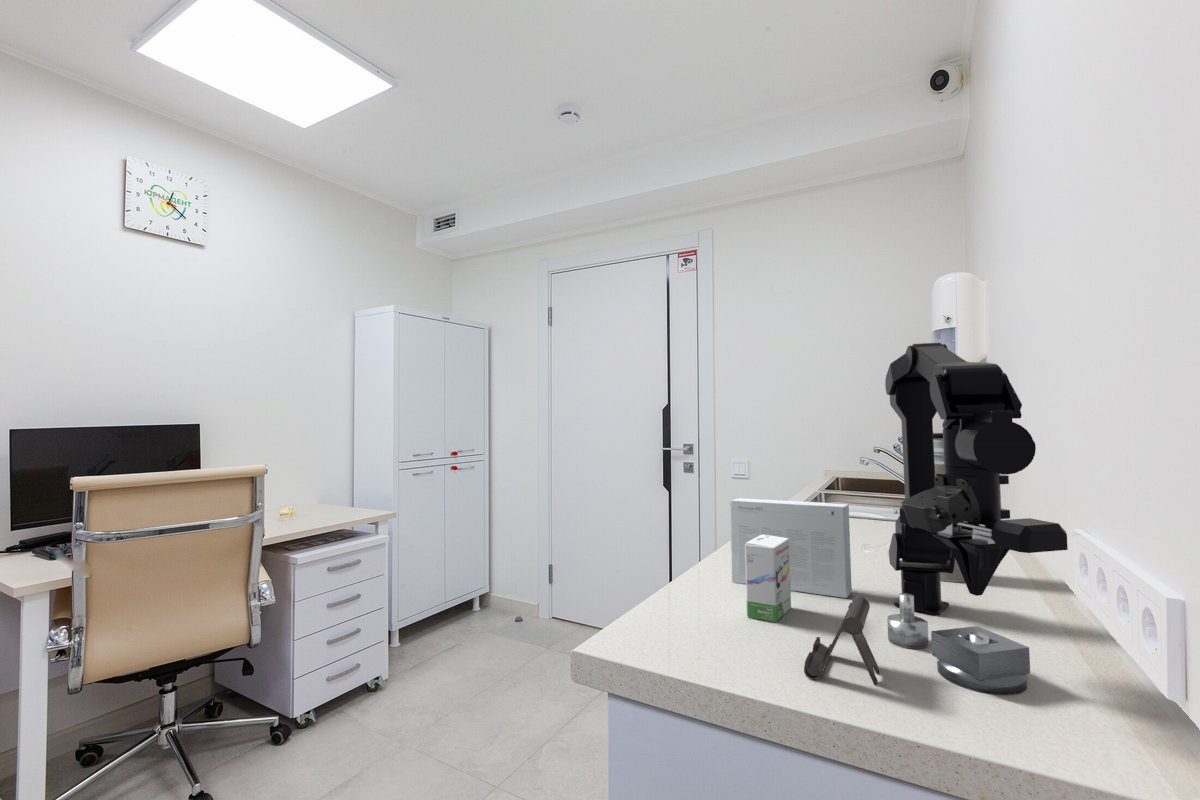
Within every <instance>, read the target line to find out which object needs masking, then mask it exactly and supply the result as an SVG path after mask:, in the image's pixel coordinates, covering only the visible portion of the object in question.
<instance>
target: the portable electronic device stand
mask: <svg viewBox="0 0 1200 800" xmlns="http://www.w3.org/2000/svg"><path fill="white" fill-rule="evenodd" d="M870 606H871V605H870V602H869V600H867V598H865V597H864V596H855V597H854V598H853V599H852V600H851V602H849V604H848V607H847V608H848V609H847V611H846V613H845V616H843V619H842V621H841V624H840V626H839V627H838V630H837V632H836V633H835V636H834V638H833V641H832V642H831V643H829V645H828V646H826V645H825V644H823V643H821V637H820V636H816V638H815V641H814V642H813V645H812V651H809V652H808V654H807V656H806V658H805V661H804V666H803V667H804V668H803V672H804V675H805V676H806V677H807V678H808V679H809V680H812V681H817V680H819V679H820V678H821V676H822V675H823V673H824V669H825V667H826V665H827V663H828V661H829V659H830V656H831V655H832V653H833V650H834V648H835V646H836V645H837V642H838V641H839V638H840V636H841V634H843V633H846V634H849V635H850V636H851V637H852V639H853V641H854V644H855V646H856V648H857V650H858V653H859V655H860V657H861V659H862V662H863V664H864V666H865V668H866V670H867V672H868V675H869V677H870V678H871V681H872V683H873V685H874V686H877V685H878V682H879V680H878V678H877V675H880V673H881V671H880V670H881V669H880V666H879V665H878V662H877V661H876V659H875V655H874V654H873V652H872V650H871V648H870V646H869V644H868V641H867V639H866V637H865V635H864V634H865V633H864V632H863V630H864V626H865V624H866V621H867V618H868V614H869V611H870V608H871V607H870ZM876 674H877V675H876Z"/></svg>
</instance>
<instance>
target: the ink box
mask: <svg viewBox="0 0 1200 800" xmlns="http://www.w3.org/2000/svg"><path fill="white" fill-rule="evenodd" d="M746 543H747V544H745V562H746V584H745V588H746V616H747V617H748V618H749V619H755V620H762V621H765V622H766V621H767V622H772V623H777V622H778V621H779V620H780V619H781V618H782V617H783V616H784V615H785V614H786V613H787V612H788V611H789V610H790V609H791V608H792V594H791V593H792V590H791V585H790V544H789V538H784V537H777V536H771V535H760V536H758V537H756V538H754V539H752V540H750V541H748V542H746Z"/></svg>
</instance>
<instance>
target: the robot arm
mask: <svg viewBox="0 0 1200 800" xmlns="http://www.w3.org/2000/svg"><path fill="white" fill-rule="evenodd" d="M884 383H885V385H884V386H885V393H886V395H887V396H889V405H890V406H891V408H892V409H893V410H894V412H895V413H896V415H897V416H898V418H899V419H900V422H901V438H902V439H901V440H902V441H901V442H902V462H903V463H902V464H903V481H904V482H903V485H904V500H902V502H901V505H902V506H900V508H899V516H898V518H896V521H895V522H894V523H895V532H893V533H892V536H891V540H890V545H889V548H888V558H889V564H890V566H891V567H892V569H894V571H896V572H898V571H899V572H900V581H901V583H900V584H901V585H900V587H901V593H908V594H912V595H914V611H916V612H921V613H926V614H930V615H936V616H937V615H938V614H940V613H942V612H943V611H944V610H946V609H947V608H949V607H950V603H949V602H947V601H943V600H942V585H941V584H942V583H941V582H942V581H941V579H940V572H943V573H952V574H953V571H954V563H955V559H956V561H957V564H958V565H959V568H960V571H961V573H962V576H963V578H964V581H965V582H964V583H965V585H966V588H967V590H968V593H969V594H970V595H973V596H978V597H979V596H982V595H983V594H984V593H985V591H986V588H987V587H988V586H989V584H990V582H991V579H992V578H993V576H994V574H995V572H996V571H997V569H998V567H999V566H1000V564H1001V562H1002V561H1003V560H1004V558H1005V557H1006V555H1007V554H1008V553H1009V551H1013V552H1017V553H1023V554H1033V553H1044V552H1045V553H1047V552H1058V551H1060V552H1061V551H1068V533H1067V531H1066V530H1065V529H1064V527H1062V526H1061V524H1060V523H1058V522H1054V521H1053V522H1052V521H1048V520H1047V521H1046V520H1042V519H1036V518H1031V517H1030V518H1011V509H1006V508H1005V509H1004V508H1002V501H1001V500H1002V498H1001V497H1002V496H1001V492H1002V491H1001V485H1009V484H1010V481H1009V479H1010V478H1009V477H1010V476H1009V475H1013V474H1018V473H1019V472H1021V471H1023V470H1025V469H1027V468H1028V467H1029V466H1030V464H1031V463H1032V462H1033V461H1034V457H1035V455H1036V451H1037V449H1036V448H1037V447H1036V442H1035V441H1034V439H1033V437H1032V435H1031V433H1030V432H1029V431H1028V430H1027V428H1025V427H1023V425H1020V424H1018V423H1016V422H1014V421H1013V419H1021V418H1022V411H1021V409H1022V407H1023V403H1022V402H1021V400H1020V398H1019V396H1018V395H1017V394H1018V393H1017V392H1016V390H1015V389H1014V387H1013V384H1012V383H1011V382H1010V380H1009V377H1008V374H1007V373H1005V372H1004V371H1003V369H1002V367H1001V366H1000V365H999V364H997V363H991V362H975V361H973V362H971V361H967V360H965V359H963V358H962V357H960V356H959V355H957V354H956V353H954V352H953V351H952V350H950V349H948V345H946V343H942V342H924V343H923V342H921V343H913V344H911V345H908V346H907V348H906V351H905V352H904V354H903V355H901V356H900V357H898V358H897V359H895V360H894V361H892V362H891V363H890V364H889V366H888V369H887V372H886V375H885V382H884ZM936 414H938V417H939V418H940V420H943V422H942V433H943V450H944V473H940V474H936V477H935V462H934V442H933V433H934V425H933V423H934V422H933V419H934V418H935V416H936ZM964 521H966V522H964ZM893 606H895V607H899V608H900V603H899V599H897V600H896V601H893Z"/></svg>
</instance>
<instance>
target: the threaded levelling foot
mask: <svg viewBox="0 0 1200 800" xmlns="http://www.w3.org/2000/svg"><path fill="white" fill-rule="evenodd" d="M898 596H899V599H898V600H899V603H900V607H899V613H893V614H889V615H888V616H887V620H886V621H887V622H886V623H887V640H888V642H889V643H891V644H892V645H894V646H897V647H901V648H903V649H904V648H905V649H909V650H910V649H911V650H922V649H927V648H928V647H929V622H928V621H927V620H926V619H924V618H922V617H919V616H915V610H914V595H912V594H908V593H902V592H900V593H898Z"/></svg>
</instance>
